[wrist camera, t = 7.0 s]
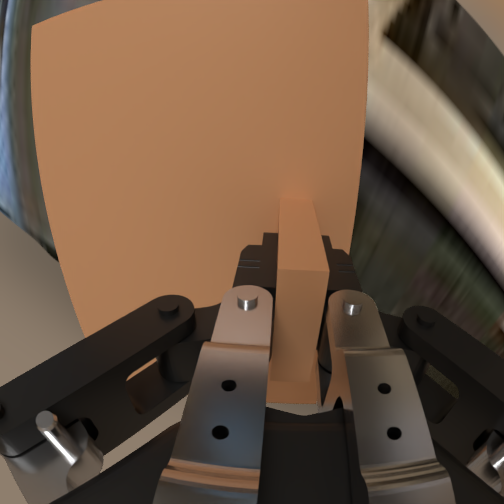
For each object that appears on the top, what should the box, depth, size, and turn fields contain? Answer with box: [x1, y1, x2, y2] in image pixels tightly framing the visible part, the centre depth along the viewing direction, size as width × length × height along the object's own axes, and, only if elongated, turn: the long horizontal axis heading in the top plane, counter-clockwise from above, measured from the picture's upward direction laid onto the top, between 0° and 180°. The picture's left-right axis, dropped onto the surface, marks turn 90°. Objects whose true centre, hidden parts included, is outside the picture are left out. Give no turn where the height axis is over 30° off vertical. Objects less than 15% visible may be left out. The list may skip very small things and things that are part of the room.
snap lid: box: [31, 0, 369, 404], centre depth 12 cm, size 14×21×7 cm, turn 179°
